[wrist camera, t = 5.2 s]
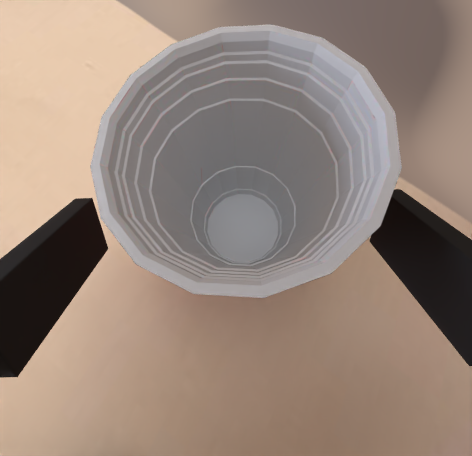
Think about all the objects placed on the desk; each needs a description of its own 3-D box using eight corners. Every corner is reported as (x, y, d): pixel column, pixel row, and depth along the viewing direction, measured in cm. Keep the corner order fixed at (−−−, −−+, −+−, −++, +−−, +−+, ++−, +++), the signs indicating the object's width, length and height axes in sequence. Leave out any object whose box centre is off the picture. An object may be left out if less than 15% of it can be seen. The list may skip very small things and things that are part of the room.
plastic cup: (192, 150, 23) (141, -10, 11) (322, 179, 22) (416, 38, 10) (149, 278, 20) (20, 247, 8) (295, 318, 19) (381, 345, 7)
